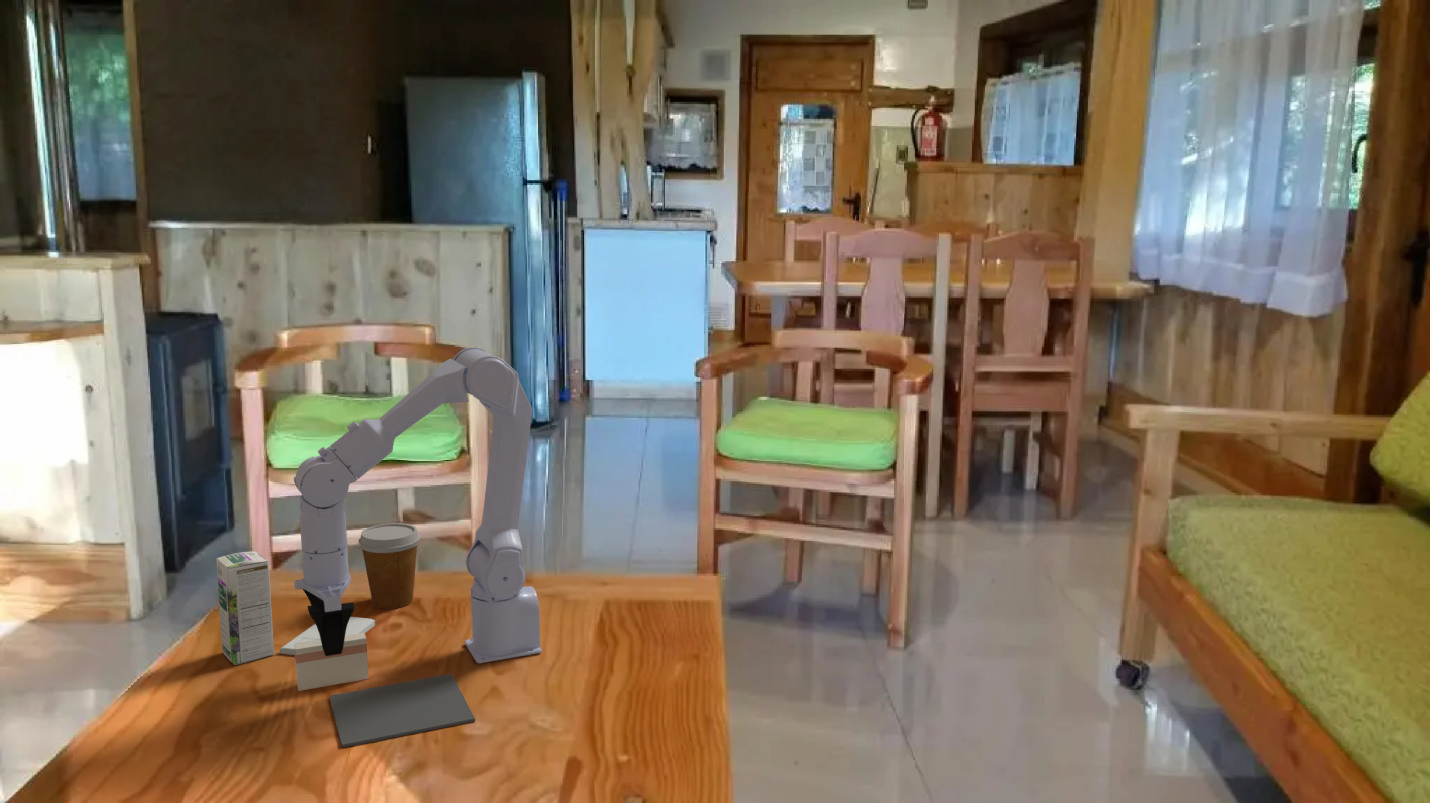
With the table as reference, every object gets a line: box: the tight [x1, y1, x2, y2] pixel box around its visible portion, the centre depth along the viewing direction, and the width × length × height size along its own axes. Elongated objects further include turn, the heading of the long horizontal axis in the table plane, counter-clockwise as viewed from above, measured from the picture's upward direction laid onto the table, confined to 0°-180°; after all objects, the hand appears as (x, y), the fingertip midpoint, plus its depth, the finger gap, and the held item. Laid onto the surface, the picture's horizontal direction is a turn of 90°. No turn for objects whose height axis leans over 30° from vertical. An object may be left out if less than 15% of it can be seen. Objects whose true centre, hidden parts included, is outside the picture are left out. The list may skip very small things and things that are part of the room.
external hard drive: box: [279, 616, 376, 656], centre depth 160 cm, size 2×8×12 cm
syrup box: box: [215, 550, 275, 666], centre depth 153 cm, size 6×6×14 cm
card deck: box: [294, 633, 369, 692], centre depth 146 cm, size 9×2×6 cm, turn 115°
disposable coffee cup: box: [358, 522, 421, 610], centre depth 173 cm, size 10×10×12 cm
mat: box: [329, 673, 476, 749], centre depth 139 cm, size 16×14×1 cm
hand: (330, 642), depth 145 cm, fingers open, 7 cm apart
